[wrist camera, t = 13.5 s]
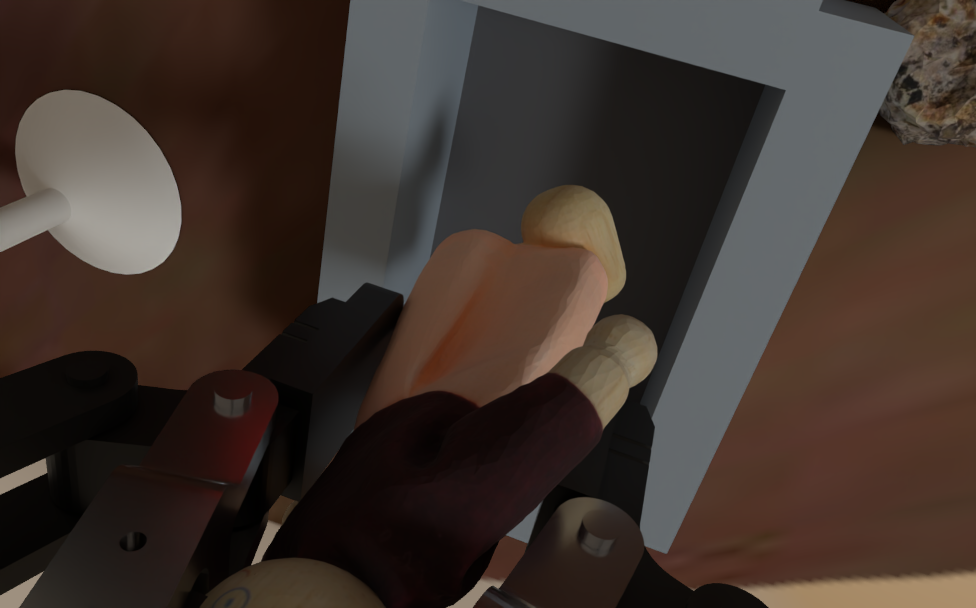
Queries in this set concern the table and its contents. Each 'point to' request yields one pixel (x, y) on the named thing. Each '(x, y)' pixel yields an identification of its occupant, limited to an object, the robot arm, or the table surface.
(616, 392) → the grandmother figurine
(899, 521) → the table surface
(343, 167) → the well block
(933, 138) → the mineral rock
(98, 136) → the champagne flute
